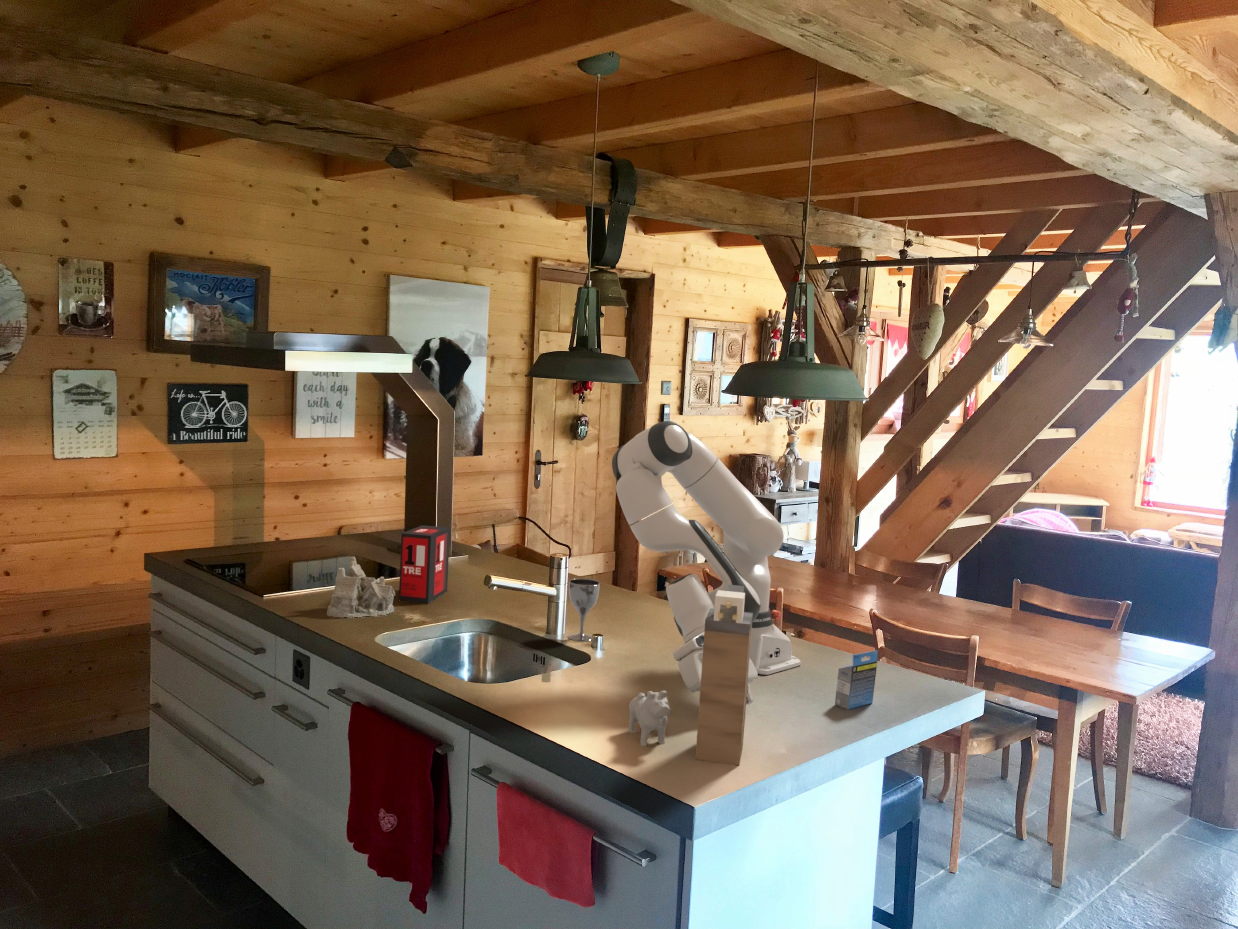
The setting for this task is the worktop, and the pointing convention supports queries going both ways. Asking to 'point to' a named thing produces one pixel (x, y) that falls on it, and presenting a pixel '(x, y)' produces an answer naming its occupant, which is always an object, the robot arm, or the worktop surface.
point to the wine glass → (583, 602)
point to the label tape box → (857, 681)
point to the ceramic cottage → (360, 594)
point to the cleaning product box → (424, 564)
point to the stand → (723, 689)
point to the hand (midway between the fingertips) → (734, 706)
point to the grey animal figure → (649, 715)
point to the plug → (730, 604)
